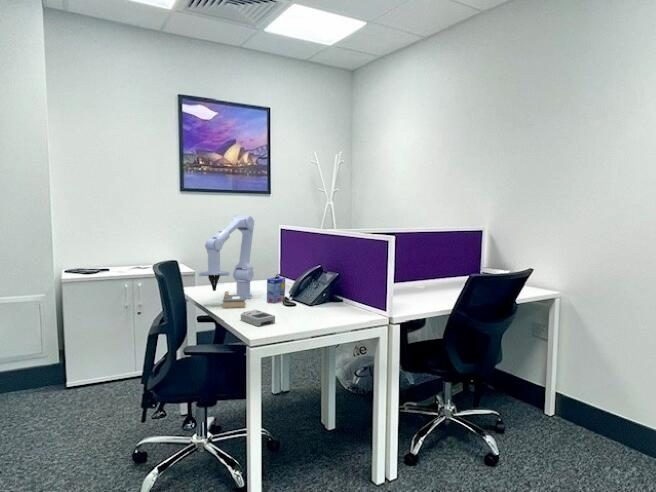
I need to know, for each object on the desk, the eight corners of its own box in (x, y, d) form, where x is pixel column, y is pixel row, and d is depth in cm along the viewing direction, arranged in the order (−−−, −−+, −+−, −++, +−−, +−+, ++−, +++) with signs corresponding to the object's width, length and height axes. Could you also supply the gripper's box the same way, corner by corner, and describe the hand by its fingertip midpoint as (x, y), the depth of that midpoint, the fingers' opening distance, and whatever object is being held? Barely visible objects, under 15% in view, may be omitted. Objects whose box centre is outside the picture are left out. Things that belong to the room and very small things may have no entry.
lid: (224, 296, 227) (224, 290, 226) (245, 295, 228) (245, 289, 228) (222, 301, 214) (222, 295, 214) (244, 301, 216) (244, 294, 216)
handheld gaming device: (256, 317, 200) (256, 309, 200) (275, 323, 190) (275, 315, 189) (239, 321, 194) (238, 312, 194) (258, 328, 184) (257, 319, 183)
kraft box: (225, 302, 227) (224, 297, 226) (244, 302, 228) (244, 296, 228) (223, 308, 215) (223, 302, 215) (244, 307, 217) (244, 301, 216)
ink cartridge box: (275, 303, 226) (275, 275, 225) (266, 302, 229) (266, 274, 228) (285, 300, 235) (285, 272, 234) (277, 298, 238) (277, 272, 236)
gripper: (197, 264, 213) (198, 292, 214) (228, 264, 215) (228, 291, 217) (199, 262, 220) (199, 289, 221) (229, 262, 222) (229, 288, 224)
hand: (214, 290), depth 219 cm, fingers closed
